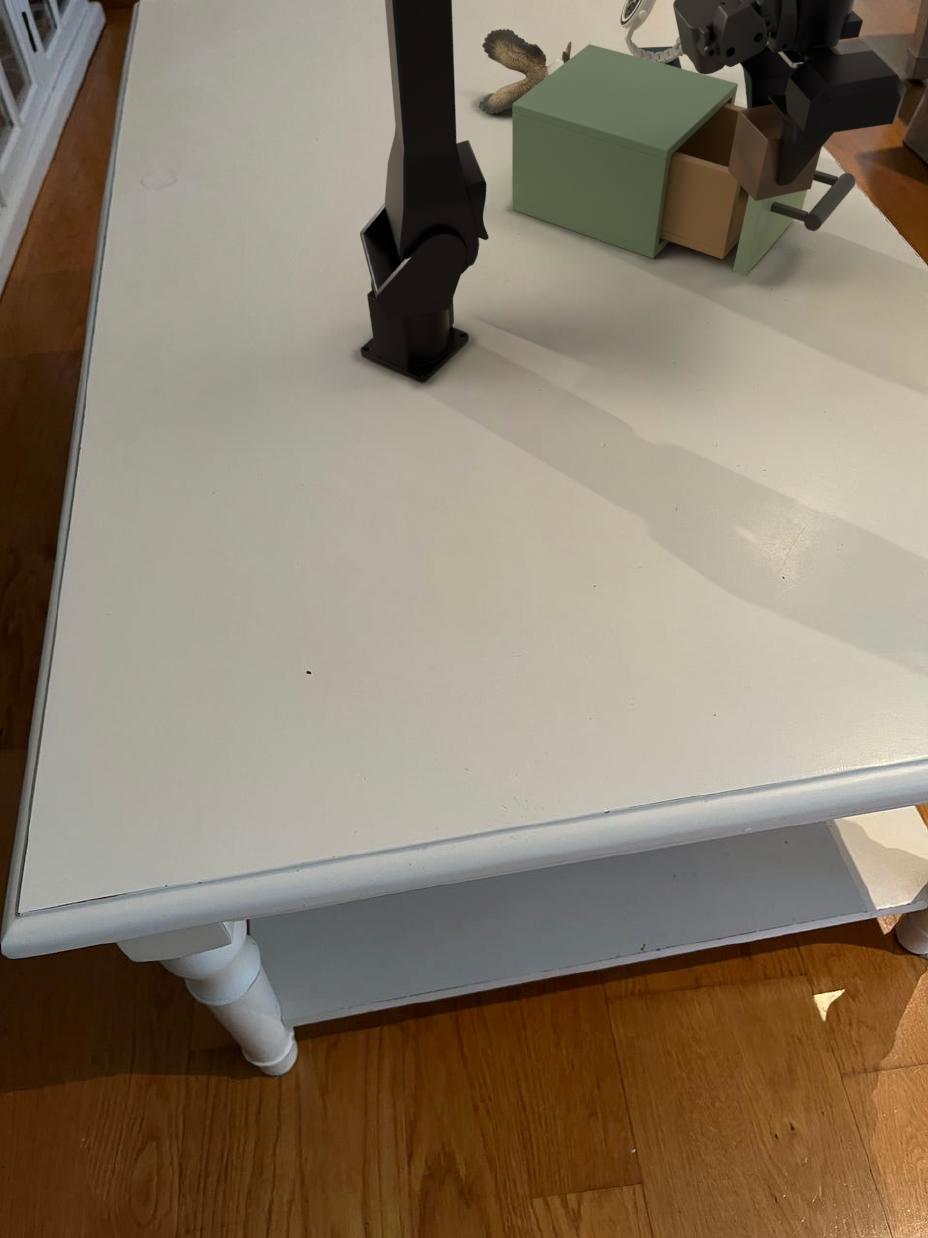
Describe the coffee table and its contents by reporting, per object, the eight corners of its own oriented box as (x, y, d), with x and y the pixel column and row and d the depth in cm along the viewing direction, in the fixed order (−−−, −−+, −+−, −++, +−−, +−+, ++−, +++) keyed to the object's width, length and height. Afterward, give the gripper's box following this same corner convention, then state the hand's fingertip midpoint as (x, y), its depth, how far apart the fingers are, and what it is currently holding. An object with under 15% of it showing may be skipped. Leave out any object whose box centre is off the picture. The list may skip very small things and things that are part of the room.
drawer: (848, 224, 84) (876, 135, 78) (794, 292, 79) (819, 203, 72) (665, 168, 90) (677, 81, 84) (603, 227, 85) (611, 140, 79)
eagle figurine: (562, 66, 102) (478, 53, 101) (580, 21, 95) (490, 7, 94) (558, 135, 102) (474, 124, 101) (575, 96, 95) (485, 83, 94)
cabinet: (718, 190, 89) (738, 83, 82) (653, 258, 84) (667, 150, 76) (582, 147, 95) (589, 43, 87) (511, 209, 89) (512, 103, 81)
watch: (612, 79, 103) (622, -39, 94) (688, 76, 102) (705, -42, 93) (616, 105, 99) (627, -14, 90) (695, 103, 99) (713, -18, 90)
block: (810, 189, 71) (827, 128, 67) (755, 201, 70) (768, 140, 67) (781, 158, 74) (795, 98, 70) (727, 170, 73) (738, 110, 69)
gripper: (649, -119, 63) (627, 120, 76) (758, -1, 53) (710, 255, 65) (810, -140, 64) (761, 100, 77) (949, -28, 54) (866, 230, 66)
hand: (770, 166), depth 71 cm, fingers closed on block, 4 cm apart
